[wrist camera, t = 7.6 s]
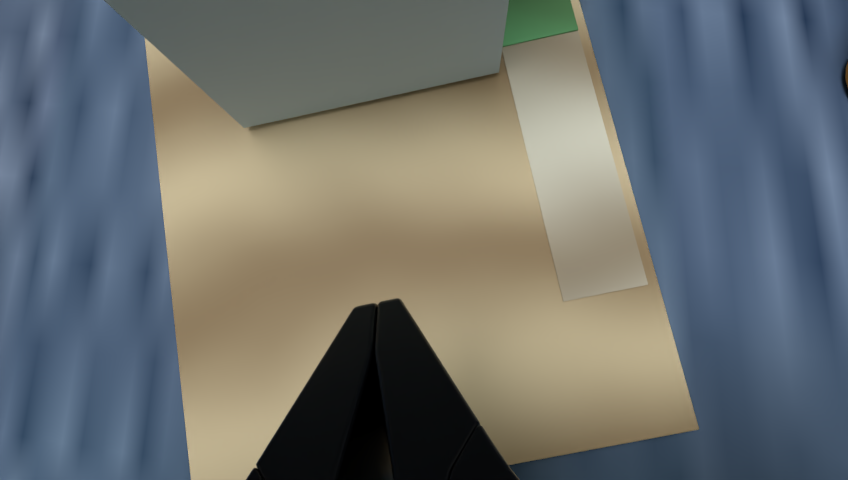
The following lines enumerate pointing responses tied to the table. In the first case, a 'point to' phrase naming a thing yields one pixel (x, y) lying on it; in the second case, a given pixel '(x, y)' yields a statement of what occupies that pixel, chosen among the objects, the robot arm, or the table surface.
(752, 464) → the table surface
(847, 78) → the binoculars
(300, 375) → the gauge track
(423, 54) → the grey block
